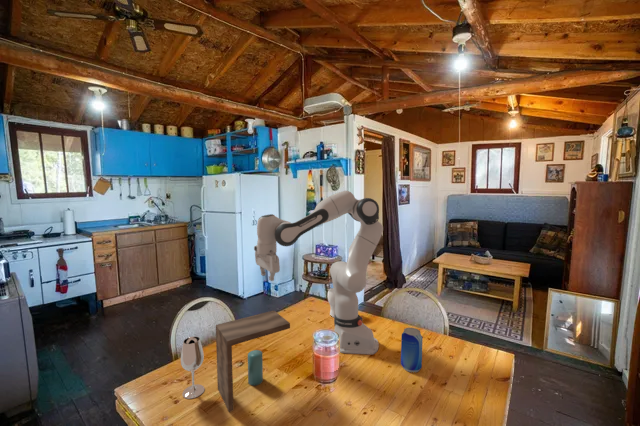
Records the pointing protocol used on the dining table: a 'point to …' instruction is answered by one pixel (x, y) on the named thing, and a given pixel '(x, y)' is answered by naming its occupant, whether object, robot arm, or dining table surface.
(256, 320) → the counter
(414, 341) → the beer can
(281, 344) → the dining table surface
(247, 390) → the dining table surface
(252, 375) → the teal cylinder
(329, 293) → the cup
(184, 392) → the wineglass
